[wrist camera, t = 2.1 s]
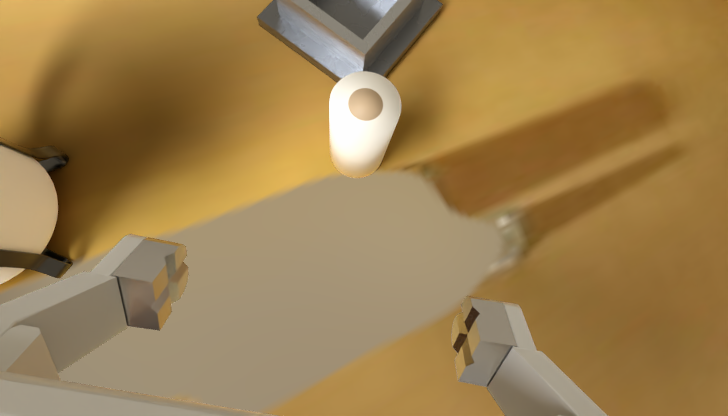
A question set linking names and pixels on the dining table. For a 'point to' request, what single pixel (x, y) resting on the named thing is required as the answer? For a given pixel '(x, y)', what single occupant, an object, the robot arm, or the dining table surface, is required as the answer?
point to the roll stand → (349, 31)
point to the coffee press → (28, 210)
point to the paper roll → (362, 122)
